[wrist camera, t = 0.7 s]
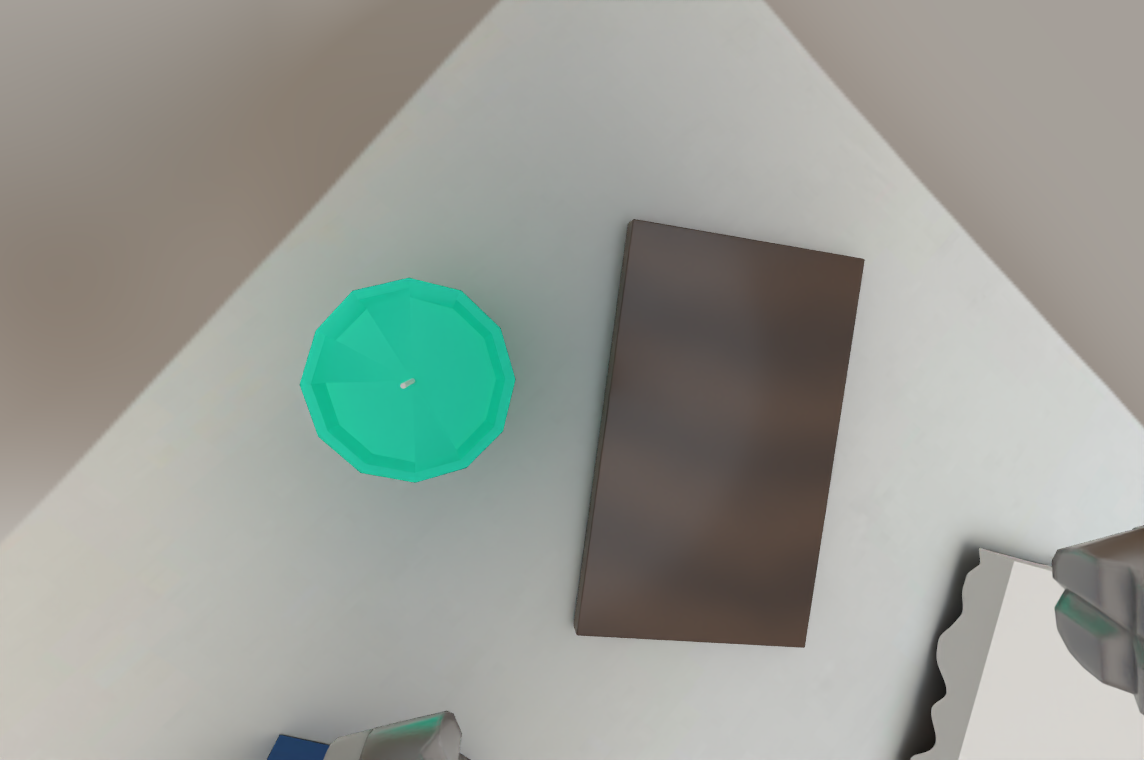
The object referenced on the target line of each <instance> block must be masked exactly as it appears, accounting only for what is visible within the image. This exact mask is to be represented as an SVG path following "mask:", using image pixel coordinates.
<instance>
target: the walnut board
mask: <svg viewBox="0 0 1144 760" xmlns="http://www.w3.org/2000/svg"><path fill="white" fill-rule="evenodd" d="M863 267H864V259H861V258H855V257H850V256H844V255H838V254H832V253H826V252H821V251H815V250H809V249H803V248H798V247H792V246H786V245H780V244H775V243H769V242H763V241H757V240H751V239H746V238H740V237H734V236H728V235H723V234H717V233H711V232H705V231H700V230H694V229H688V228H682V227H676V226H671V225H665V224H659V223H653V222H648V221H642V220H636V219H633V220H632V221H631V222H629V223H628V228H627V235H626V243H625V250H624V258H623V265H622V272H621V280H620V287H619V294H618V302H617V309H616V317H615V324H614V331H613V339H612V346H611V353H610V361H609V368H608V376H607V383H606V390H605V398H604V405H603V412H602V420H601V427H600V435H599V442H598V449H597V457H596V464H595V471H594V479H593V486H592V494H591V501H590V508H589V516H588V523H587V530H586V538H585V545H584V553H583V560H582V567H581V575H580V582H579V589H578V597H577V604H576V612H575V619H574V628H575V631H576V634H577V635H582V636H600V637H619V638H637V639H656V640H674V641H692V642H711V643H729V644H748V645H766V646H785V647H803V648H804V647H805V642H806V635H807V629H808V622H809V616H810V609H811V603H812V596H813V590H814V583H815V577H816V570H817V564H818V557H819V551H820V545H821V538H822V532H823V525H824V519H825V512H826V506H827V499H828V493H829V486H830V480H831V473H832V467H833V461H834V454H835V448H836V441H837V435H838V428H839V422H840V415H841V409H842V402H843V396H844V389H845V383H846V377H847V370H848V364H849V357H850V351H851V344H852V338H853V331H854V325H855V318H856V312H857V305H858V299H859V292H860V286H861V280H862V273H863Z"/></svg>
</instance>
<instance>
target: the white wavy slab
mask: <svg viewBox="0 0 1144 760" xmlns="http://www.w3.org/2000/svg"><path fill="white" fill-rule="evenodd" d="M979 555H980V564H979V565H978V566H977V567H976V568H974V569H973V570H971V571H970V572H969V573H968V574H967V576H966V580H965V583H964V586H963V590H962V601H963V611H962V614H961V616H960V617H959V618H958V619H957V620H956V621H955V623H954V624H953V625H952V626H951V627H950V628H948V629H947V630H946V631H945V632H944V633H942V635H941V636H940V638H939V640H938V646H937V663H938V667H939V669H940V672H941V674H942V676H943V679H944V681H945V684H946V695H945V696H944V698H942V699H941V700H940V701H938V702H936V703H935V704H934V705H933V707H932V709H931V716H932V721H933V726H934V729H935V734H936V742H935V745H934V747H933V748H932V749H931V750H929V751H927V752H925V753H920V754H917V755H914V756H913V757H911V759H910V760H1144V715H1143V714H1141V713H1140V711H1139V709H1138V706H1137V703H1136V700H1135V697H1134V695H1133V694H1131V693H1129V692H1126V691H1123V690H1120V689H1117V688H1114V687H1112V686H1109V685H1106V684H1103V683H1102V682H1100V681H1099V680H1098V679H1097V678H1095V677H1094V676H1093V675H1092V674H1090V673H1089V672H1088V671H1087V670H1085V669H1084V668H1083V667H1082V666H1081V665H1080V664H1079V663H1078V661H1077V660H1076V659H1075V658H1074V657H1073V656H1072V655H1071V654H1070V652H1069V651H1068V649H1067V647H1066V646H1065V644H1064V642H1063V640H1062V638H1061V636H1060V634H1059V632H1058V630H1057V625H1056V617H1055V608H1054V607H1055V605H1056V604H1057V602H1058V600H1059V598H1060V597H1061V595H1062V593H1063V592H1064V590H1065V589H1064V588H1063V587H1062V586H1061V585H1060V584H1059V583H1057V582H1056V581H1055V580H1054V579H1053V576H1052V567H1051V566H1048V565H1045V564H1038V563H1034V562H1030V561H1026V560H1022V559H1019V558H1015V557H1012V556H1008V555H1004V554H1000V553H996V552H992V551H989V550H985V549H982V548H979Z"/></svg>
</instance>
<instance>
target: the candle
mask: <svg viewBox="0 0 1144 760" xmlns="http://www.w3.org/2000/svg"><path fill="white" fill-rule="evenodd" d="M514 383H515V376H514V373H513V369H512V366H511V362H510V359H509V355H508V352H507V349H506V345H505V342H504V338H503V335H502V331H501V328H500V327H499V326H498V325H497V324H496V323H495V322H493V321H492V320H491V319H490V318H489V317H488V316H487V315H486V314H485V313H484V312H483V311H482V310H481V309H480V308H479V307H478V306H477V305H476V304H475V303H474V302H473V301H472V300H471V299H470V298H468V297H467V296H466V295H465V294H464V293H463V292H462V291H461V290H457V289H453V288H449V287H445V286H440V285H436V284H432V283H428V282H424V281H420V280H416V279H412V278H405V279H401V280H397V281H392V282H388V283H384V284H380V285H375V286H371V287H367V288H362V289H358V290H354V291H352V292H351V293H350V294H349V295H348V296H347V297H346V298H345V300H344V301H343V302H342V303H341V304H340V305H339V306H338V307H337V308H336V309H335V310H334V311H333V313H332V314H331V315H330V316H329V317H328V318H327V319H326V320H325V321H324V322H323V323H322V324H321V326H320V327H319V328H318V329H317V330H316V332H315V335H314V338H313V342H312V345H311V348H310V352H309V355H308V358H307V362H306V365H305V368H304V372H303V375H302V378H301V382H300V387H301V390H302V392H303V395H304V398H305V401H306V404H307V406H308V409H309V412H310V415H311V418H312V420H313V423H314V426H315V429H316V432H317V434H318V437H319V438H321V439H322V440H323V441H324V442H325V443H326V444H328V445H329V446H330V447H331V448H332V449H333V450H335V451H336V452H337V453H338V454H339V455H340V456H342V457H343V458H344V459H345V460H346V461H347V462H349V463H350V464H351V465H352V466H353V467H354V468H356V469H357V470H358V471H359V472H360V473H365V474H370V475H376V476H381V477H387V478H392V479H398V480H403V481H409V482H414V483H416V482H419V481H423V480H426V479H430V478H433V477H437V476H440V475H444V474H447V473H451V472H454V471H457V470H461V469H464V468H467V467H468V466H469V465H470V464H471V463H472V462H473V461H474V460H475V459H476V458H477V457H478V456H479V455H480V454H481V453H482V452H483V451H484V450H485V449H486V448H487V447H488V446H489V445H490V444H491V443H492V442H493V441H494V440H495V439H496V438H497V437H498V436H499V435H500V434H501V433H502V432H503V429H504V425H505V421H506V417H507V412H508V408H509V404H510V400H511V396H512V392H513V387H514Z"/></svg>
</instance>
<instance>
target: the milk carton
mask: <svg viewBox="0 0 1144 760" xmlns="http://www.w3.org/2000/svg"><path fill="white" fill-rule="evenodd" d="M329 746H330V745H326V744H321V743H316V742H312V741H307V740H303V739H298V738H293V737H289V736H284V735H279V737H278V739H277V741H276V743H275V745H274V747H273V749H272V751H271V753H270V754H269V756H268V758H267V760H323V759H324V757H325V754H326V752H327V750H328V748H329Z"/></svg>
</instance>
